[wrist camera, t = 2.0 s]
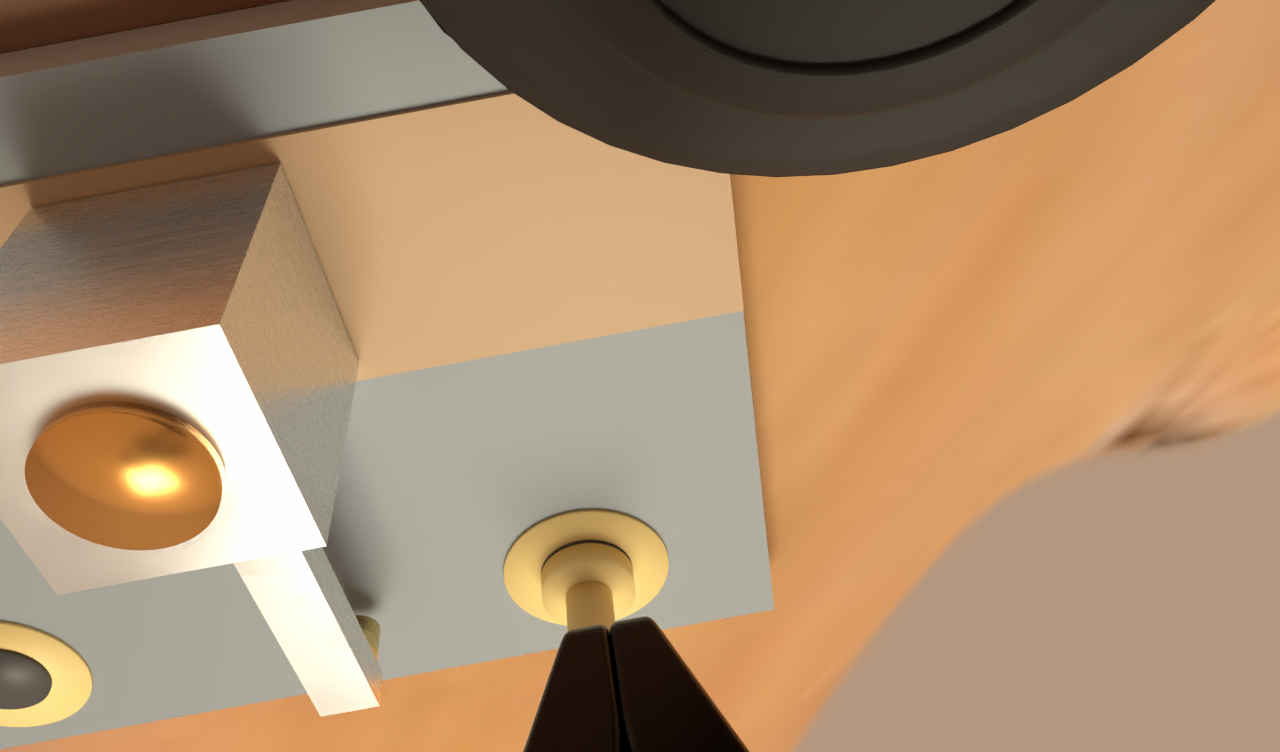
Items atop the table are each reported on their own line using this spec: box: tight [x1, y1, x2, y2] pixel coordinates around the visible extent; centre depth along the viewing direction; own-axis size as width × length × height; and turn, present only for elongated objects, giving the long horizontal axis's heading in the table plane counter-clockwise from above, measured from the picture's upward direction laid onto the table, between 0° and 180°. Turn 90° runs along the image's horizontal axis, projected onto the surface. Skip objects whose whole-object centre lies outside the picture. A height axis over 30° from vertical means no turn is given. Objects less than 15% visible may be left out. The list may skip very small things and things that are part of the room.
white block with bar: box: [0, 163, 383, 717], centre depth 18 cm, size 4×11×5 cm, turn 9°
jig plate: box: [0, 0, 774, 749], centre depth 19 cm, size 22×15×5 cm
